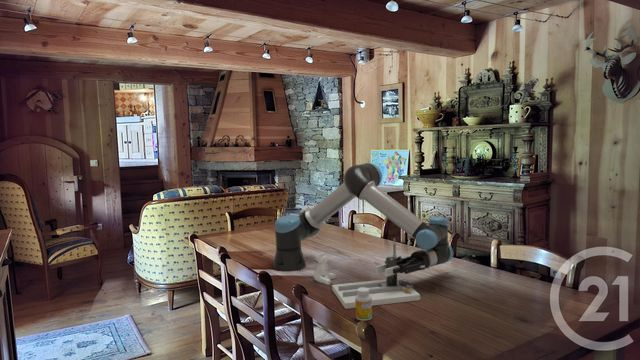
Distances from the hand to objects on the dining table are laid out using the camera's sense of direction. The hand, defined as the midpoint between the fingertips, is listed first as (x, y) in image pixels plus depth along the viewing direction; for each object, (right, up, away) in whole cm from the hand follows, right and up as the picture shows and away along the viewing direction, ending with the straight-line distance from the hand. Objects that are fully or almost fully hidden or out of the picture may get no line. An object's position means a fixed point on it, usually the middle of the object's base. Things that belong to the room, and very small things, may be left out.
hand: (381, 271), depth 164 cm
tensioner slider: (+7, -7, +2) cm, 10 cm away
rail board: (-2, -9, +3) cm, 10 cm away
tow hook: (+12, -5, +42) cm, 44 cm away
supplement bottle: (-8, -12, -18) cm, 23 cm away
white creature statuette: (-21, -9, +21) cm, 31 cm away
